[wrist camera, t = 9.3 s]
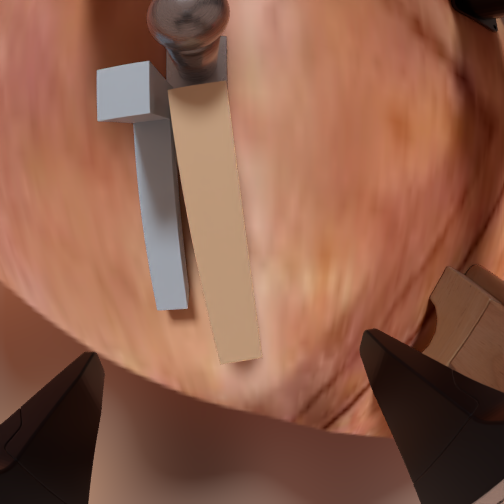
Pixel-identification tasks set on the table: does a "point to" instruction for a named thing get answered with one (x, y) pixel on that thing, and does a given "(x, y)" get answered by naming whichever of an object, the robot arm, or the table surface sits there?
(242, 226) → the beige flat block
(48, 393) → the robot arm
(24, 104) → the table surface
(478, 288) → the wooden toy
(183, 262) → the strip
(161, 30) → the grey metallic round-topped post
